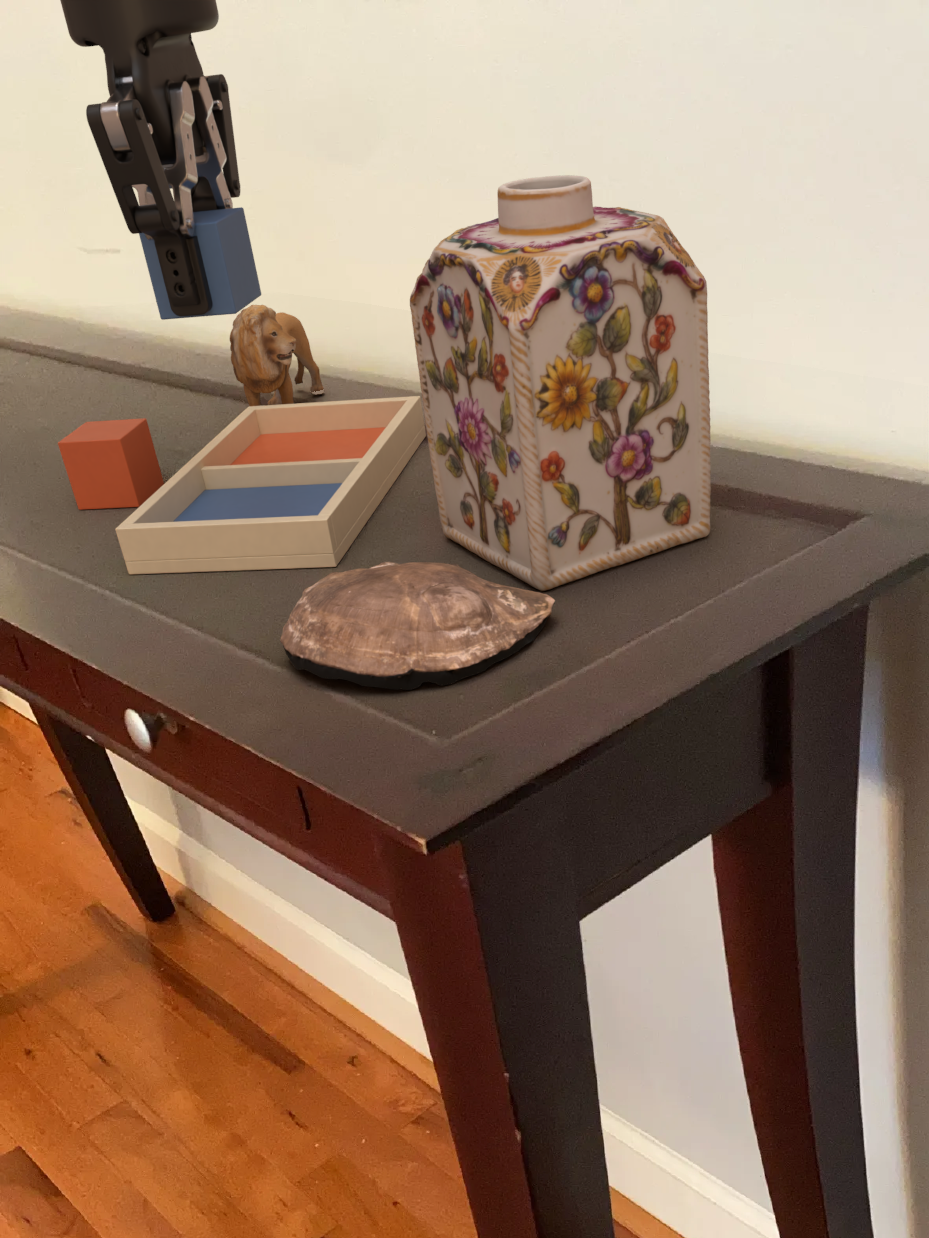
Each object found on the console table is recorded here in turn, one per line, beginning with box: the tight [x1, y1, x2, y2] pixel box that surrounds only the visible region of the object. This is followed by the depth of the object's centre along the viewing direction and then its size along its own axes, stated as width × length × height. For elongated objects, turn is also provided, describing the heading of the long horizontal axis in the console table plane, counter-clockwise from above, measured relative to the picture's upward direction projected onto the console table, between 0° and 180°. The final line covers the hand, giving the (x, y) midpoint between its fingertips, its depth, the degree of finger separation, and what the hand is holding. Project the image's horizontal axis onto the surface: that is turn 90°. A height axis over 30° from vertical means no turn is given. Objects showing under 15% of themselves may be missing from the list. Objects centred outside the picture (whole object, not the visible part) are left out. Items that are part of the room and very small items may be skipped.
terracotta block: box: [57, 418, 165, 511], centre depth 87 cm, size 4×4×4 cm
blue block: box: [138, 206, 262, 321], centre depth 71 cm, size 4×4×4 cm
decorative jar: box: [409, 174, 712, 592], centre depth 68 cm, size 12×12×18 cm
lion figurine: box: [229, 304, 325, 407], centre depth 97 cm, size 15×5×9 cm, turn 2°
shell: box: [279, 561, 556, 691], centre depth 63 cm, size 12×13×4 cm
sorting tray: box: [115, 395, 427, 575], centre depth 83 cm, size 13×24×3 cm, turn 171°
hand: (209, 301), depth 72 cm, fingers closed on blue block, 4 cm apart
